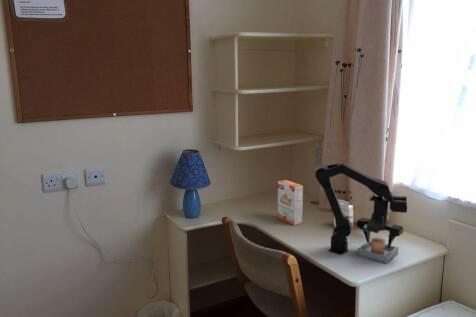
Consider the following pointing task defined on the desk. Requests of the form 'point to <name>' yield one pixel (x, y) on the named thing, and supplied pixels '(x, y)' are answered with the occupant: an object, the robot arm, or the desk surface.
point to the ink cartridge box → (346, 210)
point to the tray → (366, 253)
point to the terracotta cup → (378, 245)
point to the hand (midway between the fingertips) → (378, 245)
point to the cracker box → (290, 202)
